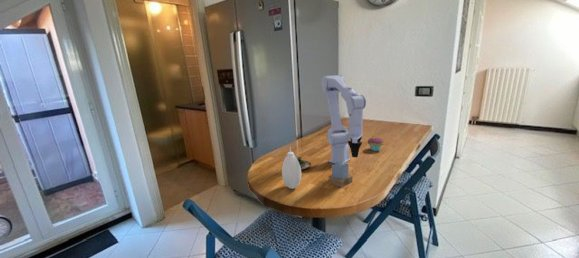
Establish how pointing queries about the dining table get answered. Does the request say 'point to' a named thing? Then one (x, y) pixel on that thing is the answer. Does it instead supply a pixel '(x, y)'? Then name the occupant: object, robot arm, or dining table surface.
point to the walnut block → (340, 181)
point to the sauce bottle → (291, 171)
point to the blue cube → (340, 170)
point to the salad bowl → (303, 162)
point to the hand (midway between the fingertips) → (355, 153)
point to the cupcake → (375, 143)
